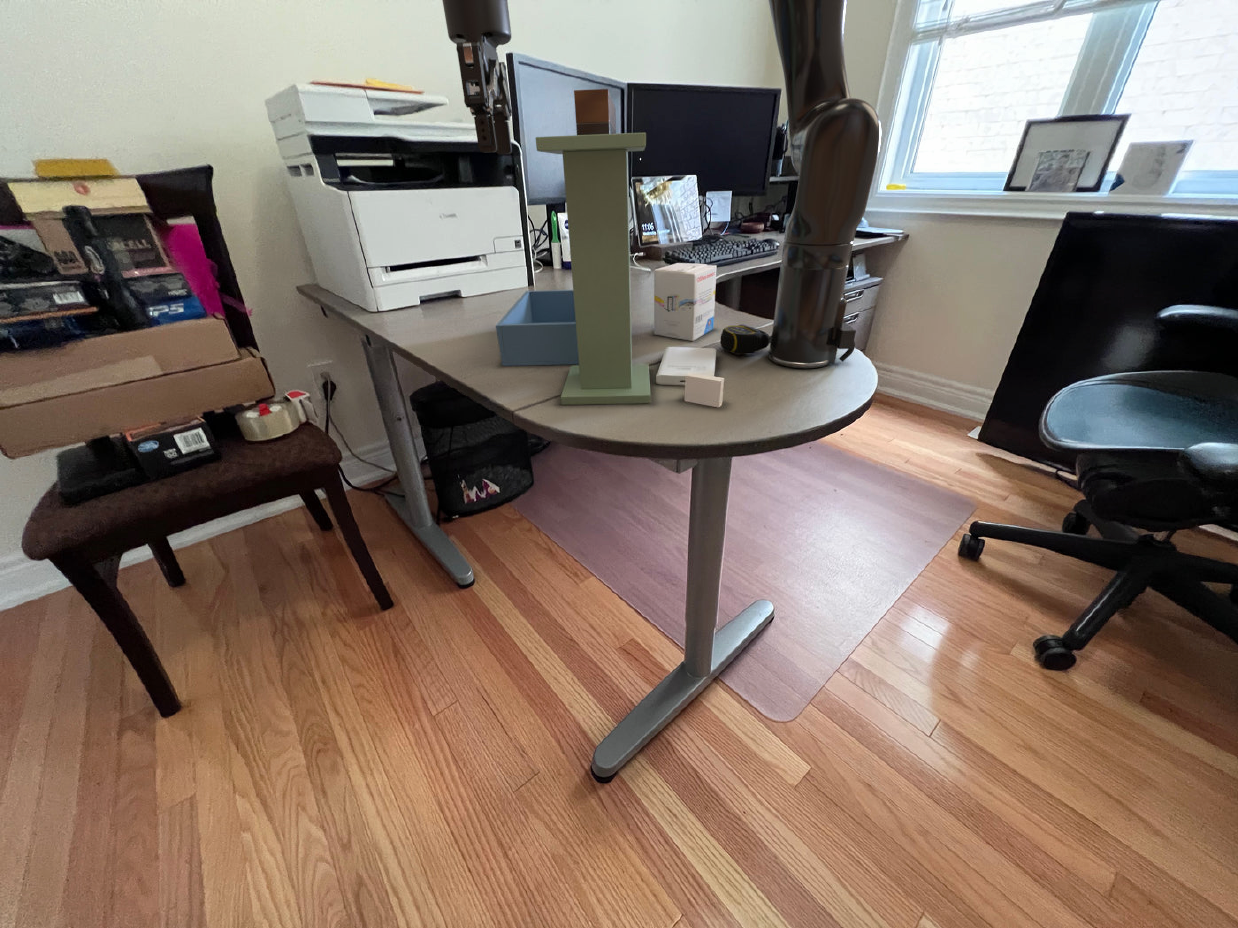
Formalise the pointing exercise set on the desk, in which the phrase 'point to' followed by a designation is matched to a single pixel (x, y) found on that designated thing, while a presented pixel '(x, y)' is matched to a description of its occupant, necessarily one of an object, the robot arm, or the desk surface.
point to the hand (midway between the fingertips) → (496, 153)
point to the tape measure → (743, 339)
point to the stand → (600, 267)
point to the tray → (539, 330)
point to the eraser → (704, 389)
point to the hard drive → (685, 364)
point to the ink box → (684, 300)
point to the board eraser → (594, 112)
